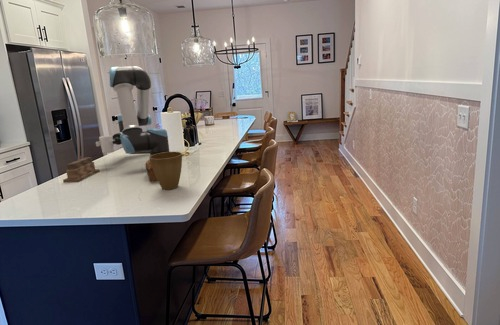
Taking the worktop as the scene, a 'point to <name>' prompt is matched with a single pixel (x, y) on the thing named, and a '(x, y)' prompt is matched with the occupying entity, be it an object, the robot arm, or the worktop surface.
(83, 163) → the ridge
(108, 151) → the white cup
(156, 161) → the plant pot
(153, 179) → the bread
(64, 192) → the worktop surface
